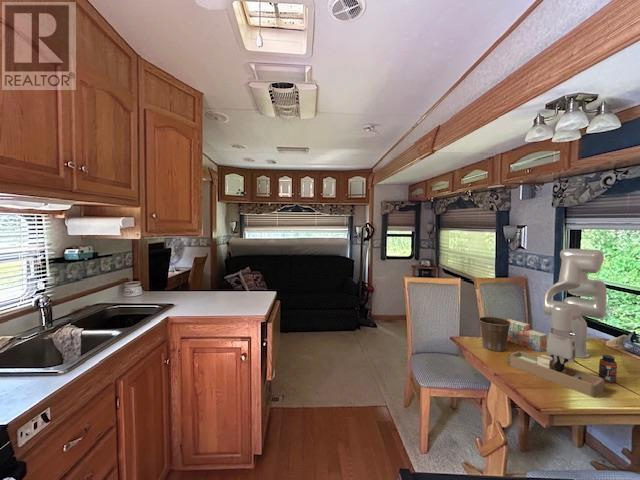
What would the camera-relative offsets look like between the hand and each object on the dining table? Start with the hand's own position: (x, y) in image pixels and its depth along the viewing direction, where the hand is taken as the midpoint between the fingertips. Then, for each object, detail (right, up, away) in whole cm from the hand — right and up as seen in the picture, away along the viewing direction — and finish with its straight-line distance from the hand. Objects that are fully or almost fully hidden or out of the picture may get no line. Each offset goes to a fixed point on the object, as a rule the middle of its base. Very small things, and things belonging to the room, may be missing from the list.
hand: (559, 370), depth 140 cm
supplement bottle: (+21, -4, -1) cm, 22 cm away
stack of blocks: (+11, -2, +41) cm, 42 cm away
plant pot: (-10, -2, +36) cm, 38 cm away
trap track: (-1, -4, +3) cm, 5 cm away
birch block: (-3, -1, +5) cm, 6 cm away
